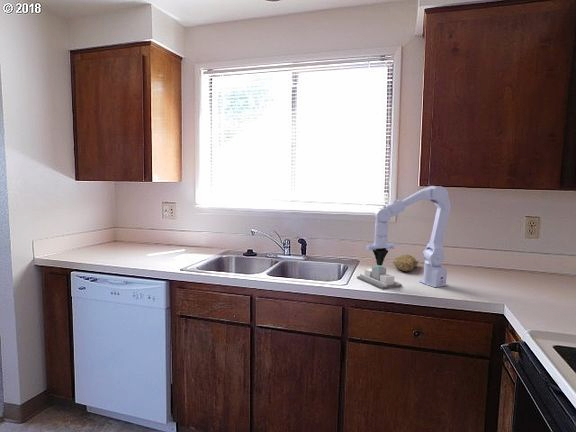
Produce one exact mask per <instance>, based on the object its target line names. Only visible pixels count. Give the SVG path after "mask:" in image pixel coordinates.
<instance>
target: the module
mask: <svg viewBox="0 0 576 432" xmlns="http://www.w3.org/2000/svg"><path fill="white" fill-rule="evenodd" d="M371 268H372V278H373V279H375V280H378V281H380V275H385V274H387V267H385V266H383V265H381V266H379V265H372V266H371Z"/></svg>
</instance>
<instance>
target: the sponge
mask: <svg viewBox="0 0 576 432" xmlns="http://www.w3.org/2000/svg"><path fill="white" fill-rule="evenodd" d="M419 262H420V261H419V260H418V259H417V258H416V257H415V256H412V255H410V254H403V255H399V256H397V257H396V258H395V259H393V262H392V263H393V265H394V267H395V268H397V269H398V270H401V271H404V272H410V271H413V270H414V268H415V267H416V266H417V265H418V264H419Z"/></svg>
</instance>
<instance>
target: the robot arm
mask: <svg viewBox="0 0 576 432" xmlns="http://www.w3.org/2000/svg"><path fill="white" fill-rule="evenodd" d="M421 200H429V201H431V202H432V203H433V204H434V206H435V207H436V212H435V217H434V221H433V225H432V226H433V227H432V229H431V230H432V231H431V235H430V239H429V242H427V244H426V248H425V249H424V250H423V251H422V257H423V259H424V264H423V278H422V279H419V280H418V282H419V283H421V284H424V285H427V286H430V287H433V288H438V287H439V288H440V287H446V286H448V284H447V277H448V275H447V274H448V271H447V269H446V268H445V267H444V266H443V263H444V261H445V254H444V253H445V249H444V245H443V244H444V239H445V235H446V234H445V233H446V230H447V226H448V220H449V216H450V211H451V208H452V205H451V201H450V198H449V191H448V190H447V189H446V188H445V187H443V186H441V185H440V186H435V185H429V186H426V187H424V188H422V189H419V190H418V191H416V192H414V193H413V194H411V195H410V196H409V195H408V197H406V198H404V199H402V200H400V199H393V200H392V202H391V203H388V204H387V205H385V204H384V205H383V206H382V208H377V209H376V210H375V211H374V214H373V217H374V219H375V223H374V239H373V243H372V244H368V245H366V246H365V250H366V251H369V252H370V251H372V252H373V255H374V257H375V261H376V266H383V263H384V261H385V258H386V257H387V255H388V253H389V249H390V250H391V249H395V246H396V245H395V244H394V243H388V238H389V235H388V234H389V222H390V220H391V218H393V217H395V216H397V215H399V214H401V213H403V212H405V209H406V207H408V206H410V205H413V204H415V203H417V202H419V201H421Z"/></svg>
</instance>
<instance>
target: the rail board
mask: <svg viewBox="0 0 576 432" xmlns="http://www.w3.org/2000/svg"><path fill="white" fill-rule="evenodd" d="M356 279H358V280H359V281H362V282H364V283H367V284H369V285H371V286H373V287H375V288H378V289H380V290H387V289H394V288H402V287H403V283H400V282H399V281H396V280H395V276H394V275H391V274H390V273H388V274H387V273H386V274H385V275H380V281H378V280H375V279H373V278H372V267H371V268H370V267H369V268H365V269H364V274H363V273H359V275H357V276H356Z"/></svg>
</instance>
